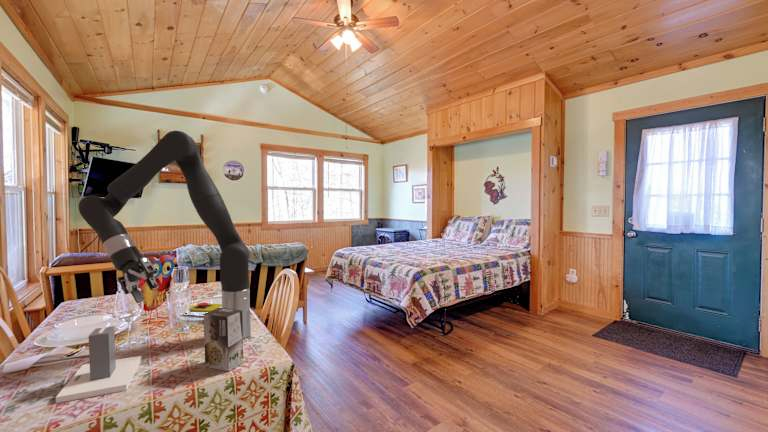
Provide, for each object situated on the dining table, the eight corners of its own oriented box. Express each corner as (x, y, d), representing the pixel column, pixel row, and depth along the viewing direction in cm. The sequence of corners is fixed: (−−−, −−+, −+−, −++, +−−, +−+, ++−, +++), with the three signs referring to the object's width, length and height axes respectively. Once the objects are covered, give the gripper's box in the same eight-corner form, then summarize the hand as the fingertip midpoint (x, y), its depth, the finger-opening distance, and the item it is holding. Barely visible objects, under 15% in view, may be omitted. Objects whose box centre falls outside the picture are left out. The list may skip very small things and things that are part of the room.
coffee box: (244, 362, 105) (243, 310, 105) (228, 372, 99) (227, 316, 99) (220, 357, 108) (219, 306, 108) (203, 367, 102) (202, 313, 101)
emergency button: (197, 299, 156) (227, 301, 153) (197, 309, 156) (227, 311, 154) (181, 306, 147) (213, 308, 144) (182, 316, 147) (214, 318, 145)
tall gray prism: (110, 377, 93) (108, 332, 93) (90, 380, 91) (88, 334, 91) (115, 368, 98) (114, 325, 98) (97, 371, 96) (95, 327, 96)
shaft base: (83, 369, 100) (82, 364, 100) (141, 360, 106) (141, 355, 106) (55, 403, 84) (55, 396, 84) (126, 390, 90) (126, 384, 90)
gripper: (146, 238, 111) (171, 281, 110) (124, 259, 116) (147, 301, 115) (121, 242, 104) (148, 289, 103) (99, 265, 109) (124, 310, 108)
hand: (147, 295), depth 109 cm, fingers open, 8 cm apart
